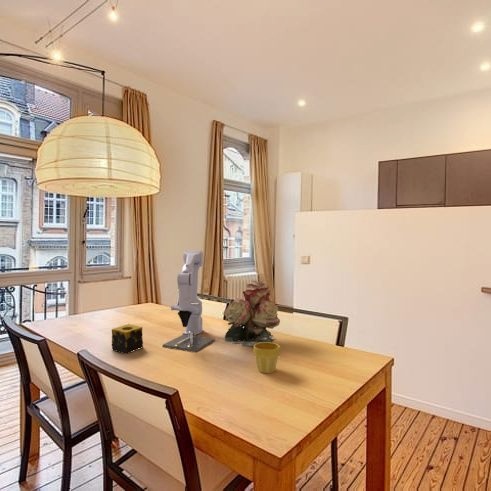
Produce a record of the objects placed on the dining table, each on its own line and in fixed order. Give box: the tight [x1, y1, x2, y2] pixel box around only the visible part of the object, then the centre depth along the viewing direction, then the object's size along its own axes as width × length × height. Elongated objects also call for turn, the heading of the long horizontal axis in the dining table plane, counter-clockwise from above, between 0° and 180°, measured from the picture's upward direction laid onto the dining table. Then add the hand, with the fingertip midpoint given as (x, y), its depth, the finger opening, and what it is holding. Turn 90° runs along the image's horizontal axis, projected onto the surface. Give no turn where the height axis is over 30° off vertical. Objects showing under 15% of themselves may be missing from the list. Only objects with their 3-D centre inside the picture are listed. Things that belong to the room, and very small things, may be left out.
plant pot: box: [253, 342, 281, 374], centre depth 140 cm, size 10×10×10 cm
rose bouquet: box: [222, 280, 281, 347], centre depth 178 cm, size 26×29×30 cm
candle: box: [111, 323, 144, 354], centre depth 164 cm, size 10×10×10 cm
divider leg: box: [187, 331, 195, 345], centre depth 172 cm, size 14×3×3 cm, turn 10°
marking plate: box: [162, 334, 215, 353], centre depth 172 cm, size 18×18×2 cm
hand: (185, 326), depth 168 cm, fingers closed
